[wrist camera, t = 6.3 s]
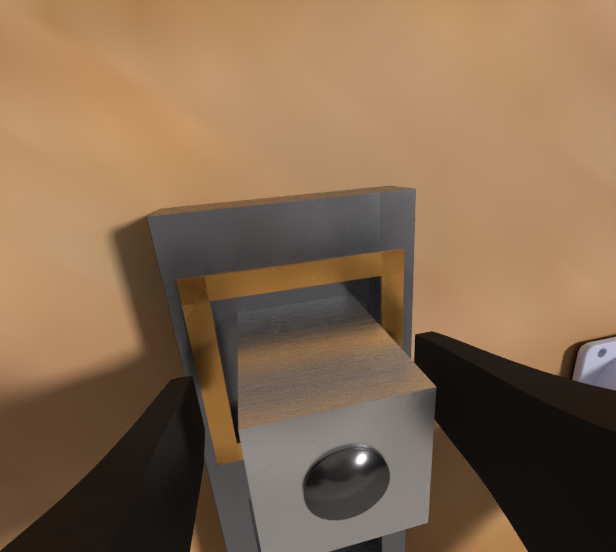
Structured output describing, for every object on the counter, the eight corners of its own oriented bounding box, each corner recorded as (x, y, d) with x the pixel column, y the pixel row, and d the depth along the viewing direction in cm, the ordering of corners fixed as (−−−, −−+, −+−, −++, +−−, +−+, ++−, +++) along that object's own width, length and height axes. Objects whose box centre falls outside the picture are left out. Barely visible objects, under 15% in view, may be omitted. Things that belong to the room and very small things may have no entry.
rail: (390, 185, 12) (417, 188, 10) (388, 632, 21) (402, 674, 19) (160, 208, 11) (145, 216, 9) (265, 674, 20) (268, 724, 18)
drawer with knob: (351, 294, 12) (439, 389, 7) (355, 388, 14) (430, 526, 8) (237, 312, 11) (238, 433, 6) (253, 409, 13) (264, 575, 8)
